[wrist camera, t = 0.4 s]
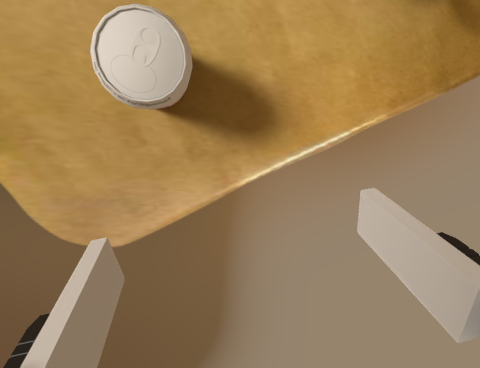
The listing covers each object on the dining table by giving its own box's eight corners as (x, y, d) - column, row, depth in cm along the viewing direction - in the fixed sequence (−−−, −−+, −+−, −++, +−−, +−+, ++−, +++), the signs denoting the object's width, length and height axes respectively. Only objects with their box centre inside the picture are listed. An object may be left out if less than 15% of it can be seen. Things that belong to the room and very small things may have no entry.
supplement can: (173, 119, 37) (169, 126, 23) (113, 89, 35) (68, 77, 21) (198, 63, 36) (209, 36, 22) (138, 28, 34) (107, -28, 19)
